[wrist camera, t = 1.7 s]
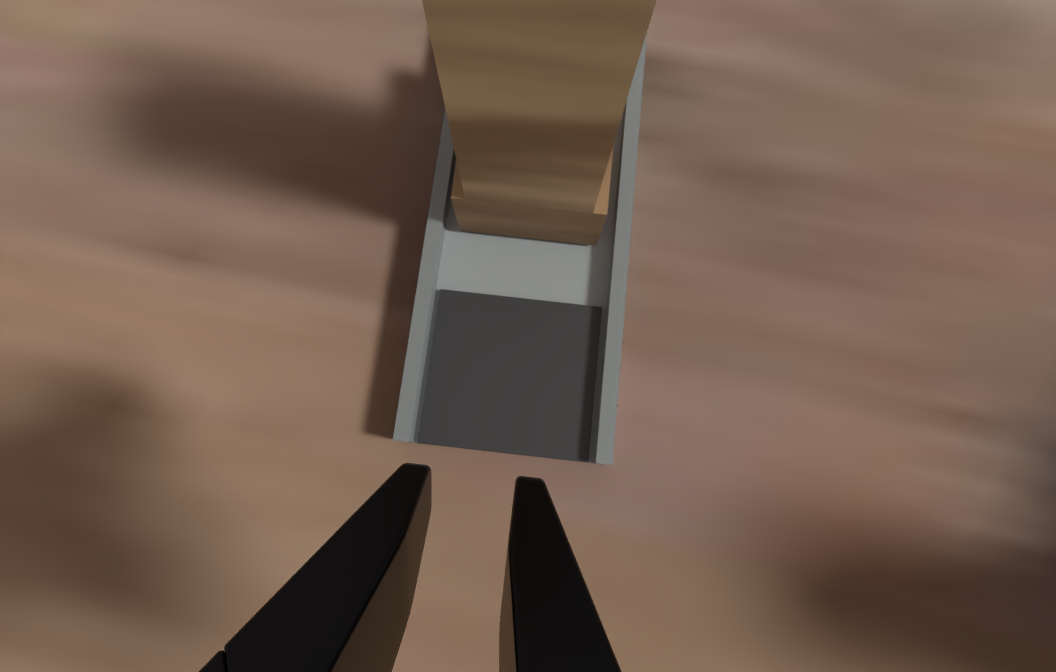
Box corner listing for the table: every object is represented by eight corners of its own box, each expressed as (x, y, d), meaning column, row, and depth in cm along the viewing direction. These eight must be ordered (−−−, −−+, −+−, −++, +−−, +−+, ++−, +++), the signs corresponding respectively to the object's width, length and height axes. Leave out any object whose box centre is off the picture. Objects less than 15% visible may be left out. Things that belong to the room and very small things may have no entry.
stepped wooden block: (596, 245, 23) (706, -65, 9) (459, 230, 23) (371, -99, 9) (610, 90, 24) (724, -375, 11) (481, 76, 25) (432, -404, 11)
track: (606, 464, 22) (612, 464, 21) (400, 441, 22) (392, 440, 21) (646, -20, 27) (653, -46, 25) (474, -38, 27) (472, -64, 25)
